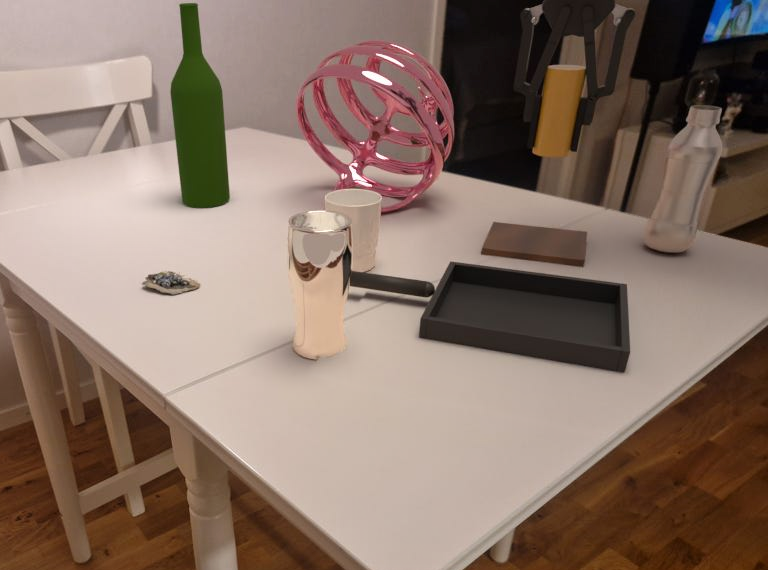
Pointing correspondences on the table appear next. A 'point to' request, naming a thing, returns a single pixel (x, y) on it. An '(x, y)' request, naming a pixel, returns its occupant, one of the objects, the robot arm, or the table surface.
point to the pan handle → (392, 284)
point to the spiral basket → (380, 126)
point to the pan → (531, 315)
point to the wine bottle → (198, 121)
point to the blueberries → (170, 282)
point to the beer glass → (319, 279)
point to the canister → (559, 110)
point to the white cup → (359, 222)
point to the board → (536, 244)
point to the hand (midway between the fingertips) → (552, 147)
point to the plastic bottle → (685, 181)
